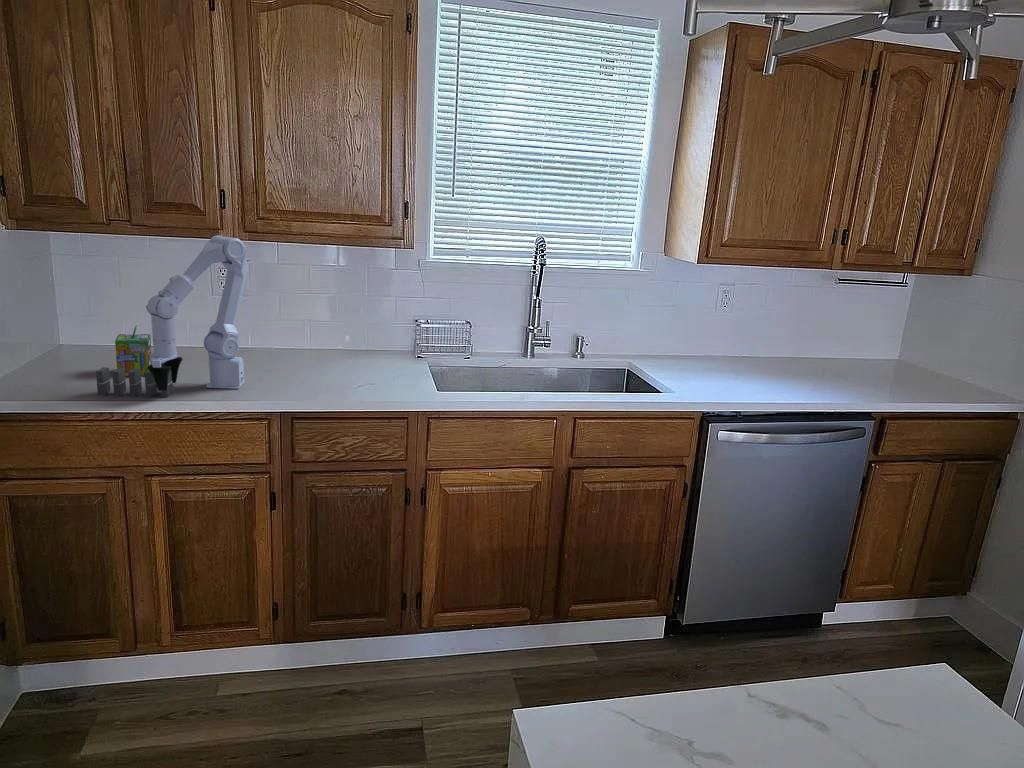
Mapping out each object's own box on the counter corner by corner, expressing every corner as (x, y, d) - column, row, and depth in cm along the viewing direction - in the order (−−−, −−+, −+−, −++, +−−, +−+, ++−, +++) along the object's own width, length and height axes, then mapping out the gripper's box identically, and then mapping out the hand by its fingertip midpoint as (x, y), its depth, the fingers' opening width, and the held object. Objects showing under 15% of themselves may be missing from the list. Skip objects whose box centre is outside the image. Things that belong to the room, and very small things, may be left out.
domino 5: (172, 393, 207) (171, 369, 205) (167, 397, 203) (166, 373, 201) (166, 393, 207) (165, 369, 205) (161, 397, 202) (160, 373, 201)
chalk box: (120, 369, 227) (117, 323, 223) (153, 369, 230) (150, 323, 227) (116, 377, 219) (112, 329, 215) (150, 376, 222) (147, 329, 218)
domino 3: (142, 392, 206) (140, 368, 204) (136, 396, 202) (134, 372, 200) (136, 392, 206) (134, 368, 204) (130, 396, 201) (128, 372, 200)
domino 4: (157, 392, 206) (156, 369, 205) (152, 397, 202) (150, 372, 200) (151, 392, 206) (150, 368, 204) (146, 397, 202) (144, 372, 200)
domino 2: (126, 391, 205) (124, 368, 203) (120, 396, 201) (118, 371, 199) (120, 391, 205) (118, 367, 203) (114, 396, 201) (112, 371, 199)
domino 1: (110, 391, 205) (108, 367, 203) (104, 395, 201) (102, 371, 199) (104, 391, 205) (102, 367, 203) (98, 395, 200) (95, 371, 199)
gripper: (158, 333, 207) (161, 379, 210) (139, 344, 193) (142, 393, 197) (184, 334, 208) (186, 379, 211) (166, 345, 194) (169, 393, 197)
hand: (167, 386), depth 204 cm, fingers open, 7 cm apart
